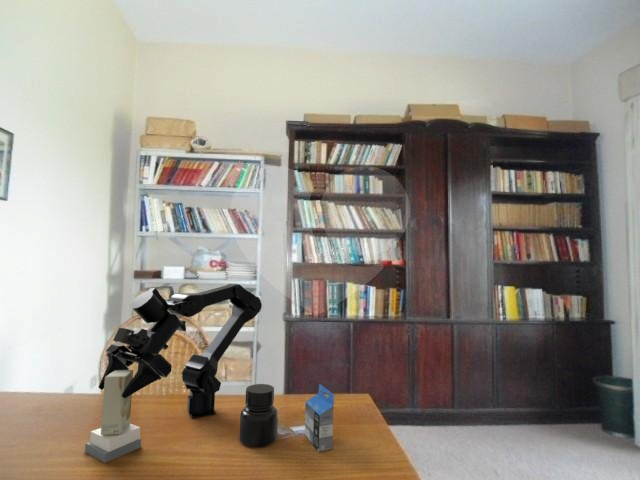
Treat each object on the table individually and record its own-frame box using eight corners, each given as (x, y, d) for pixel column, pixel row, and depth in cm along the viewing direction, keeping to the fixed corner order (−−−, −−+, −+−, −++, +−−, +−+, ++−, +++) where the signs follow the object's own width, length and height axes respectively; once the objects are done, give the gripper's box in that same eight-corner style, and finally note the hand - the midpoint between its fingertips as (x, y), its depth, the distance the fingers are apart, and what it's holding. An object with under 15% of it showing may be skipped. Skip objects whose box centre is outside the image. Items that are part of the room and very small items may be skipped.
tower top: (121, 430, 86) (121, 420, 86) (139, 438, 82) (140, 427, 82) (90, 443, 80) (90, 431, 80) (108, 452, 76) (109, 439, 76)
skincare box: (121, 434, 78) (125, 376, 79) (99, 436, 77) (103, 377, 79) (131, 422, 85) (134, 368, 86) (110, 423, 84) (114, 369, 85)
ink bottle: (284, 435, 90) (286, 385, 91) (267, 452, 81) (269, 397, 82) (249, 428, 93) (251, 380, 94) (230, 444, 85) (232, 391, 85)
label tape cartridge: (303, 435, 90) (305, 384, 91) (317, 433, 91) (319, 382, 92) (318, 452, 82) (319, 396, 83) (333, 449, 83) (334, 394, 84)
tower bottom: (120, 440, 86) (121, 429, 86) (140, 450, 82) (141, 438, 82) (84, 454, 79) (85, 443, 80) (104, 466, 75) (105, 454, 75)
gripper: (116, 310, 91) (63, 365, 81) (163, 318, 81) (110, 381, 71) (143, 337, 97) (98, 391, 87) (190, 347, 88) (144, 409, 77)
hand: (111, 392), depth 81 cm, fingers open, 9 cm apart
